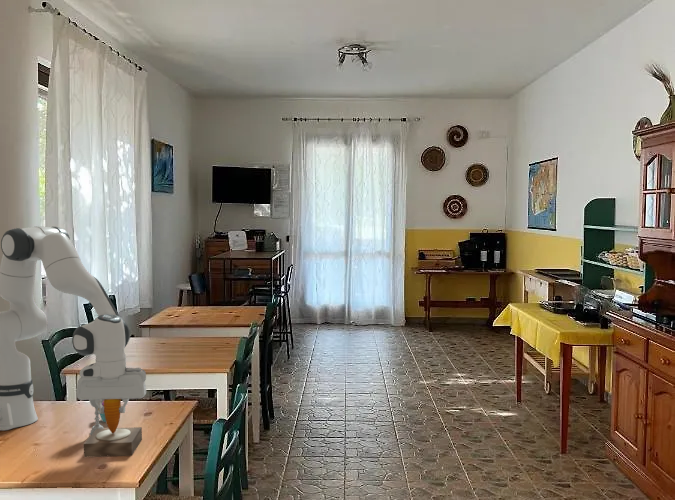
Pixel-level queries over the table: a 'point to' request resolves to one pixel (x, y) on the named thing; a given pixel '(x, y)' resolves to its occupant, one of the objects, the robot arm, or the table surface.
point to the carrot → (112, 413)
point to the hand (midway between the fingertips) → (112, 412)
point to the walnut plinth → (113, 442)
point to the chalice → (97, 425)
